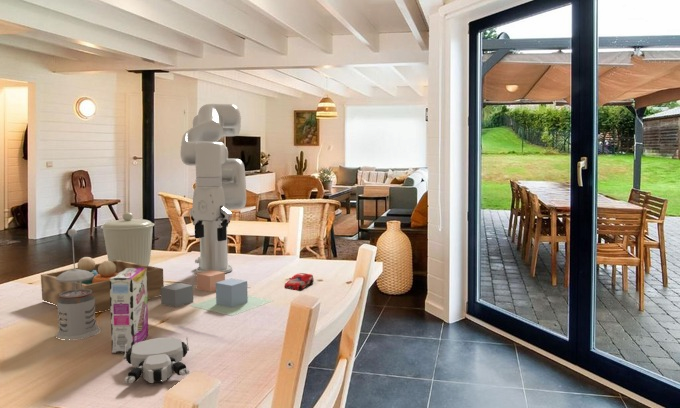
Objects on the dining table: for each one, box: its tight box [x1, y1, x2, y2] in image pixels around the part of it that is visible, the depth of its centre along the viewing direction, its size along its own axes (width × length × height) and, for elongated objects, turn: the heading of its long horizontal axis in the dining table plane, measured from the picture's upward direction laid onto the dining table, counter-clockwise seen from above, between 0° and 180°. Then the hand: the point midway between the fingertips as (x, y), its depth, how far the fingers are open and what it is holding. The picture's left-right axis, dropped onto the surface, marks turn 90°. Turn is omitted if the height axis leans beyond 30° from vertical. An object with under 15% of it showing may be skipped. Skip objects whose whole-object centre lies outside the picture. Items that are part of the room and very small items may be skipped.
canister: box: [100, 211, 156, 266], centre depth 188 cm, size 18×18×21 cm
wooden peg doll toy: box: [77, 256, 118, 285], centre depth 152 cm, size 18×17×12 cm
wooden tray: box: [40, 260, 165, 313], centre depth 151 cm, size 23×24×8 cm
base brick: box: [215, 278, 249, 308], centre depth 142 cm, size 6×6×6 cm
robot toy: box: [123, 336, 190, 384], centre depth 101 cm, size 12×4×15 cm
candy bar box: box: [109, 268, 149, 354], centre depth 114 cm, size 11×5×16 cm, turn 5°
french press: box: [55, 228, 101, 341], centre depth 122 cm, size 10×12×25 cm
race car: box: [284, 272, 315, 292], centre depth 164 cm, size 13×5×4 cm, turn 155°
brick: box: [196, 270, 226, 293], centre depth 158 cm, size 6×6×6 cm
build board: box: [189, 295, 273, 317], centre depth 142 cm, size 16×16×1 cm
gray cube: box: [160, 282, 194, 308], centre depth 143 cm, size 6×6×6 cm
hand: (210, 239), depth 157 cm, fingers open, 9 cm apart
